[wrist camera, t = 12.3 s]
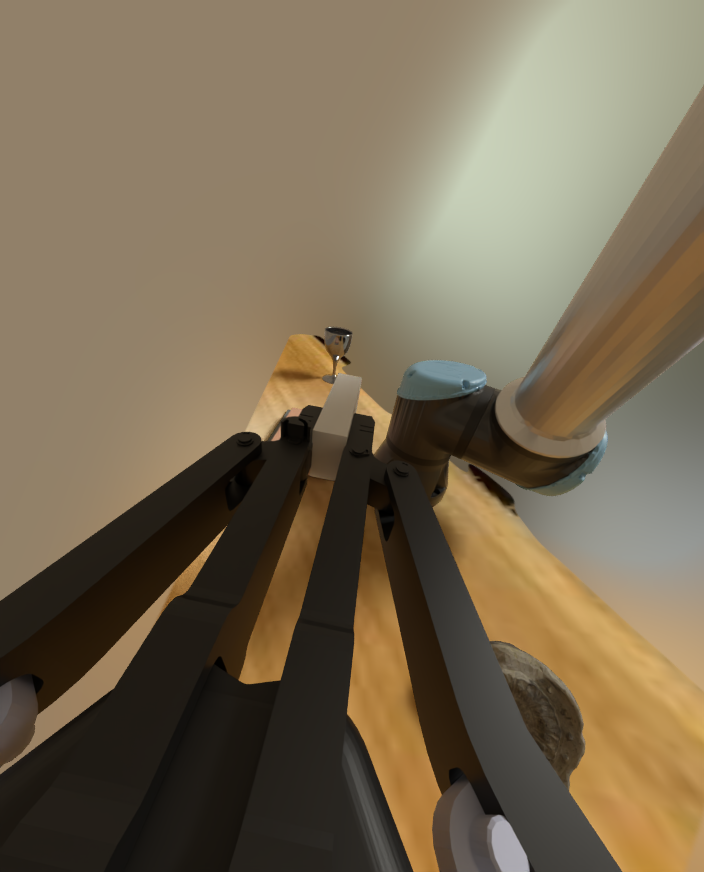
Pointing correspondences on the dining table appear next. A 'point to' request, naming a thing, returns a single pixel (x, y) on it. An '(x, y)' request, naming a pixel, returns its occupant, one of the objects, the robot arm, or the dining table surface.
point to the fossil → (544, 708)
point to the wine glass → (336, 347)
